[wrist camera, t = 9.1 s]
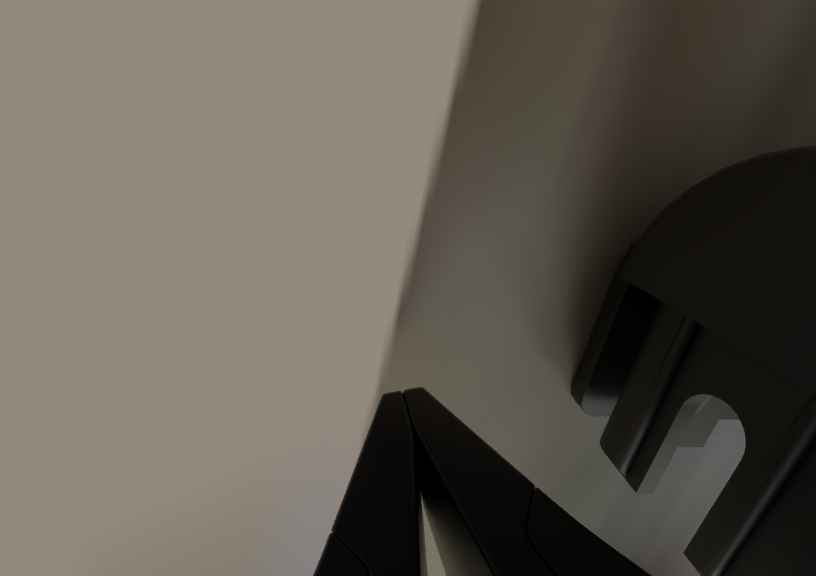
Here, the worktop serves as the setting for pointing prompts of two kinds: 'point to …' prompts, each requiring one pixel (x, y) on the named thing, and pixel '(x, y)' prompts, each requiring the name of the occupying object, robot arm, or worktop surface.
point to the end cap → (720, 357)
